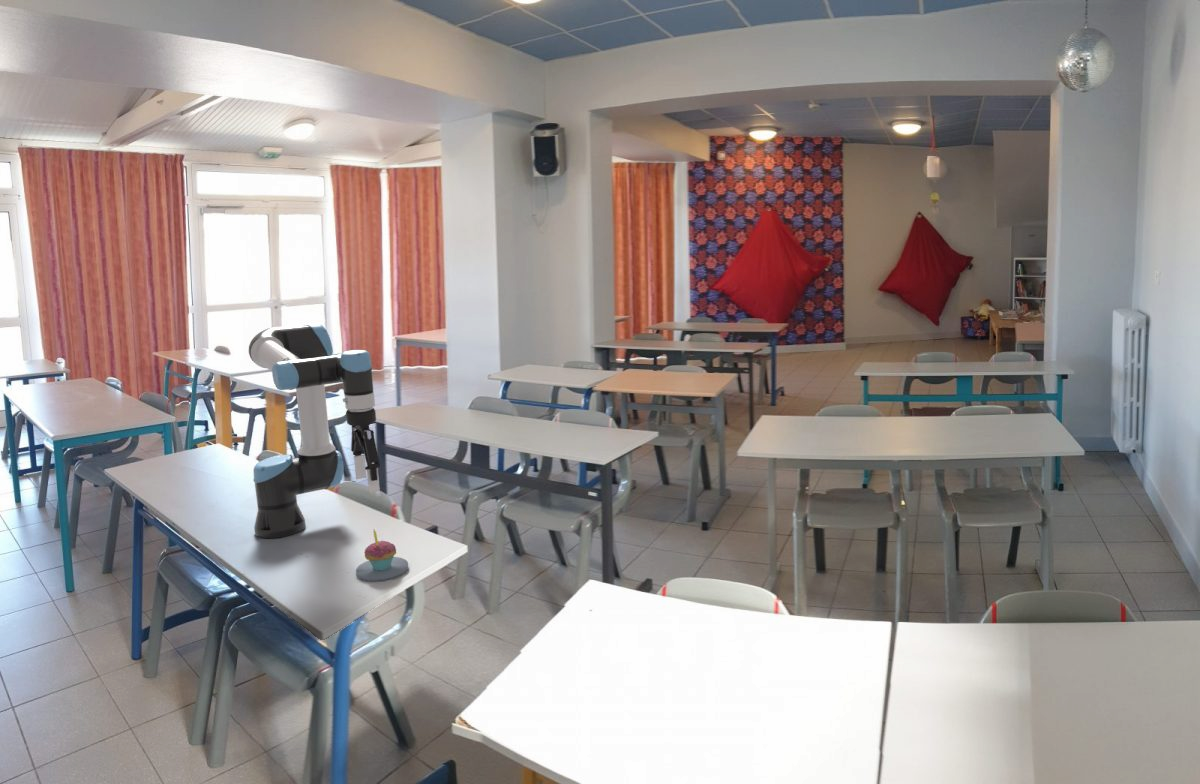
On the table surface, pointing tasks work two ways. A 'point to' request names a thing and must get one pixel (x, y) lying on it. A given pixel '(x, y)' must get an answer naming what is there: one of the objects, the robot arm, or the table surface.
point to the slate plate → (382, 571)
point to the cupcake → (380, 554)
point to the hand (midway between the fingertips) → (367, 484)
